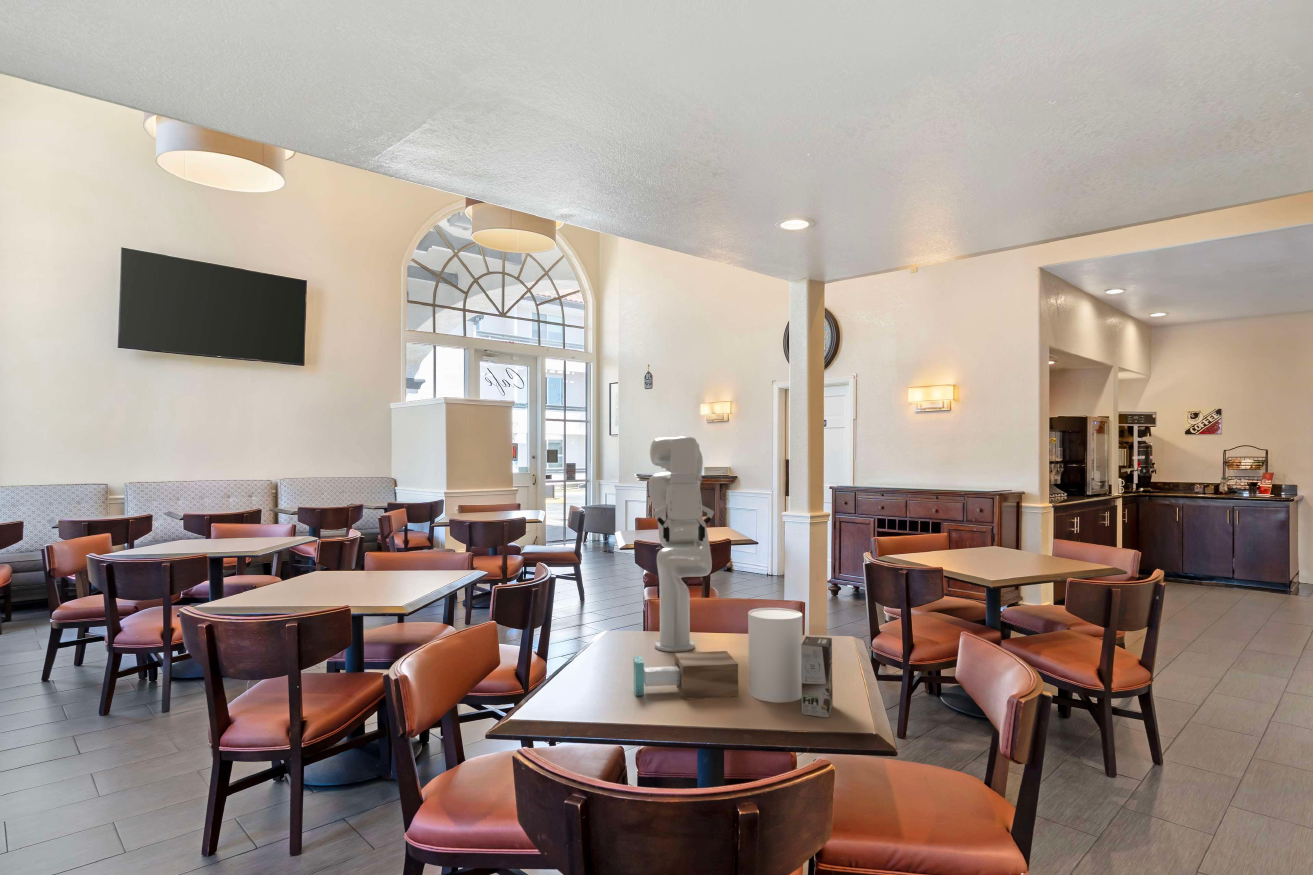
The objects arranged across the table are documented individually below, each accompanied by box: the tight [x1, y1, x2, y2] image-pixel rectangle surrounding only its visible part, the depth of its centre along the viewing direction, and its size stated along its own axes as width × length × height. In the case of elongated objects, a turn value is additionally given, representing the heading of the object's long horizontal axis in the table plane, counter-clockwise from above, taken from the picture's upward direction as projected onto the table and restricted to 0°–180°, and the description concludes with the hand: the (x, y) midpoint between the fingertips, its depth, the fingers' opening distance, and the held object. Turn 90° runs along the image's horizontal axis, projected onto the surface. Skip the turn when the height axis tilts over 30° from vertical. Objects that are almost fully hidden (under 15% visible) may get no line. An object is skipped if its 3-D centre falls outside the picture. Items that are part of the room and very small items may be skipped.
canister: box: [747, 607, 804, 703], centre depth 174 cm, size 14×14×20 cm
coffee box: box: [801, 635, 834, 719], centre depth 162 cm, size 9×6×16 cm
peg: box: [633, 656, 680, 697], centre depth 175 cm, size 5×14×8 cm, turn 98°
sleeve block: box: [674, 650, 739, 700], centre depth 176 cm, size 12×14×8 cm
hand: (684, 541), depth 194 cm, fingers open, 9 cm apart
